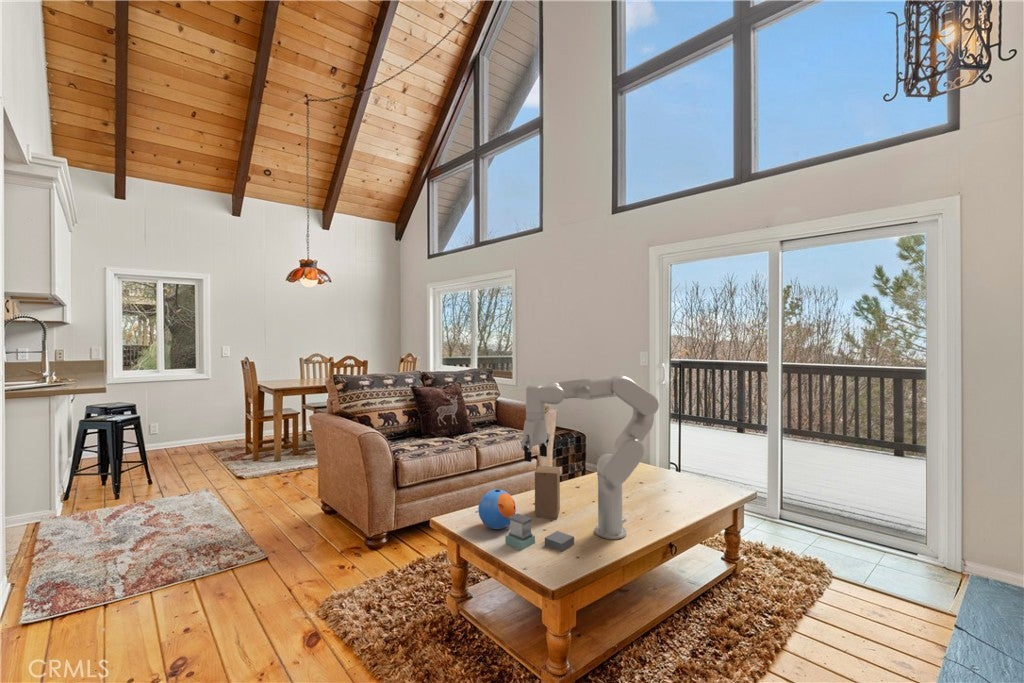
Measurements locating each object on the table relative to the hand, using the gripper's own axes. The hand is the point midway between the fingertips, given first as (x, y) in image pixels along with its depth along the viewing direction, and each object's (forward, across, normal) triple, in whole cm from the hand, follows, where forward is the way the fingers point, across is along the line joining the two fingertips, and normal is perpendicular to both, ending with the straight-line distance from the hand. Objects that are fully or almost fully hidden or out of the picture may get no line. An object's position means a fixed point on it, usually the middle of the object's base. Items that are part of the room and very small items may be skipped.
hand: (535, 458), depth 188 cm
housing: (+27, +11, +1) cm, 29 cm away
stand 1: (+30, +11, +1) cm, 32 cm away
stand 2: (+30, +2, +13) cm, 33 cm away
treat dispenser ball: (+31, +6, -16) cm, 35 cm away
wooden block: (+31, -19, -9) cm, 37 cm away
